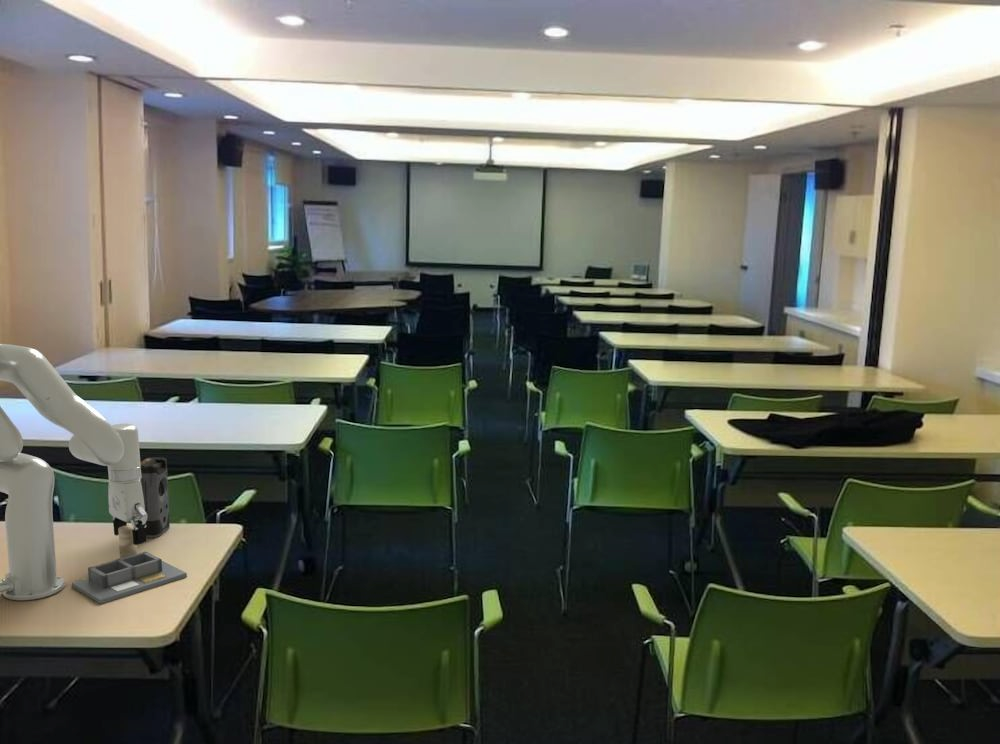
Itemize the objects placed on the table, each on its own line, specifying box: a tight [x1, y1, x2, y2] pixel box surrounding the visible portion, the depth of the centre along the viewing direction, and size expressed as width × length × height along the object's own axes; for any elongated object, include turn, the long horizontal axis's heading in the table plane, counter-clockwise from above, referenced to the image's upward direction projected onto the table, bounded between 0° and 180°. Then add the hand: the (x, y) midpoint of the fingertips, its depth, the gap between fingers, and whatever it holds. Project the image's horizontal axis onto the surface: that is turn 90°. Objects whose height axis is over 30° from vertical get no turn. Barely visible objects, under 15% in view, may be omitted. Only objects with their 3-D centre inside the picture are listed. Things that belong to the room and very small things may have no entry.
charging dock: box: [71, 551, 188, 605], centre depth 208 cm, size 21×14×4 cm, turn 140°
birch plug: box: [118, 524, 138, 559], centre depth 222 cm, size 4×4×8 cm
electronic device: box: [137, 456, 171, 539], centre depth 240 cm, size 9×6×20 cm, turn 179°
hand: (130, 538), depth 222 cm, fingers open, 9 cm apart
